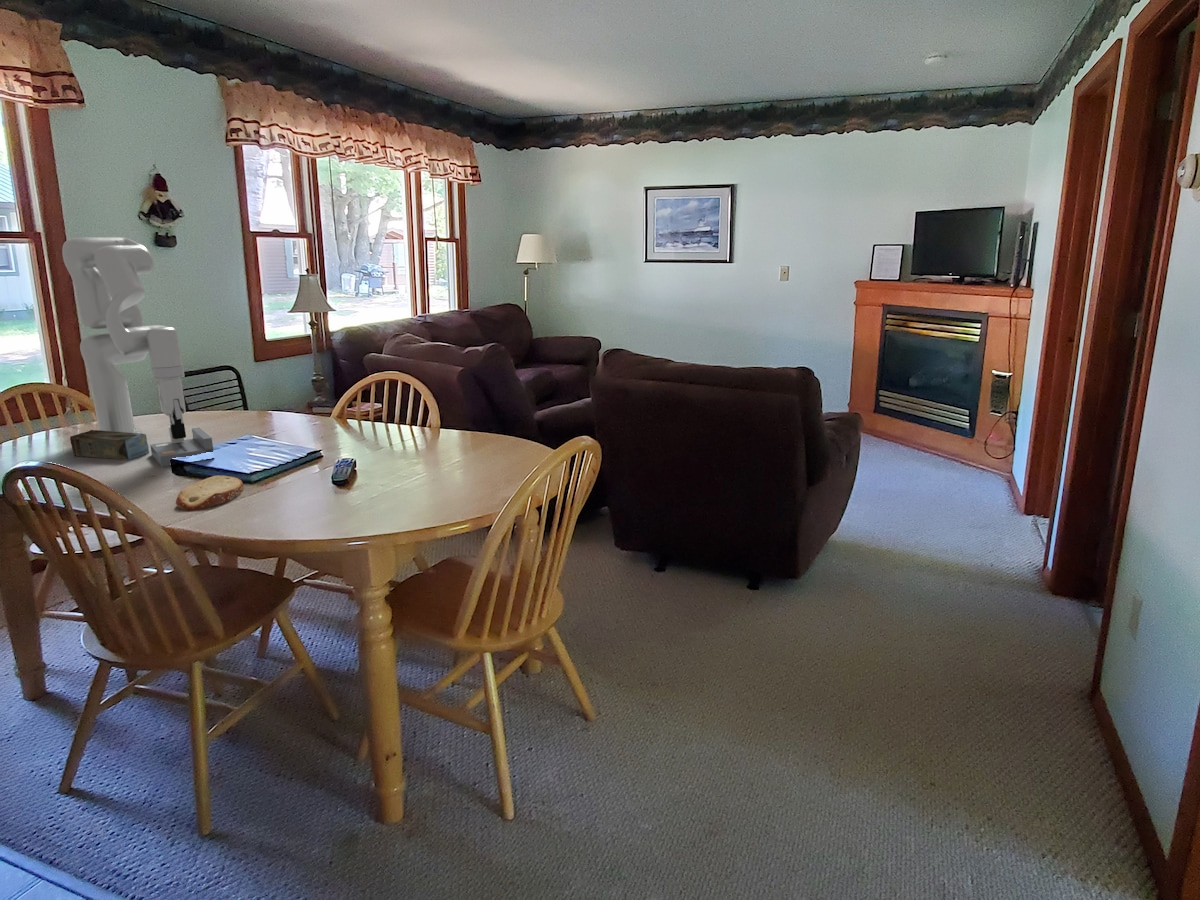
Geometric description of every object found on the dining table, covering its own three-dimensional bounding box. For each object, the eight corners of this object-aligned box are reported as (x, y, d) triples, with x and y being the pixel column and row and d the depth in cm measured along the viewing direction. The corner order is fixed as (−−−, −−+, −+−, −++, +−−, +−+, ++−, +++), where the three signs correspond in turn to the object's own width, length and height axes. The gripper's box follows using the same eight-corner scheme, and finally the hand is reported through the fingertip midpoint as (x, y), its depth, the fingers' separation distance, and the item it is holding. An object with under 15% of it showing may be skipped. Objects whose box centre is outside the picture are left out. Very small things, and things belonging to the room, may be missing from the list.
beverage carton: (128, 461, 217) (124, 438, 215) (71, 457, 221) (67, 435, 220) (150, 453, 224) (146, 431, 223) (95, 450, 229) (91, 428, 227)
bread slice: (230, 481, 198) (228, 466, 197) (265, 495, 187) (263, 480, 186) (154, 499, 185) (152, 483, 184) (187, 515, 174) (185, 499, 173)
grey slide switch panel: (151, 455, 222) (148, 434, 220) (202, 447, 229) (199, 427, 228) (162, 467, 210) (158, 445, 208) (214, 458, 217) (211, 437, 216)
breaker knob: (170, 441, 223) (168, 426, 222) (182, 439, 225) (180, 424, 223) (172, 443, 221) (169, 427, 220) (184, 441, 223) (181, 425, 222)
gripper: (148, 371, 219) (159, 435, 223) (157, 377, 207) (169, 444, 212) (178, 368, 223) (188, 431, 228) (188, 374, 212) (199, 440, 216)
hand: (179, 437), depth 220 cm, fingers closed
